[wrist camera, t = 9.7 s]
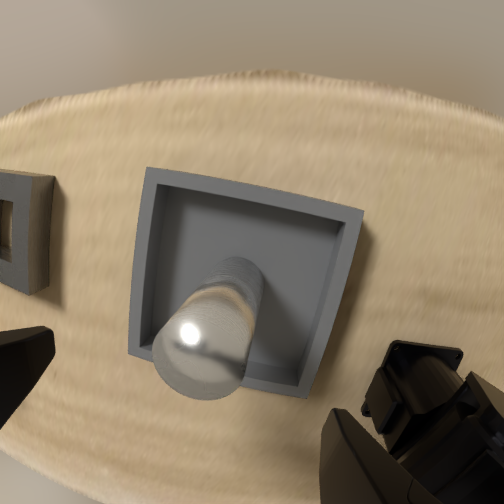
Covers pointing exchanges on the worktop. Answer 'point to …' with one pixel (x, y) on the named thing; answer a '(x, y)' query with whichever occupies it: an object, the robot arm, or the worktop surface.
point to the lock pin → (211, 332)
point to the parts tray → (254, 249)
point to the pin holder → (26, 230)
